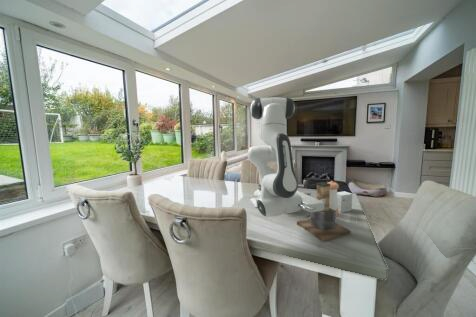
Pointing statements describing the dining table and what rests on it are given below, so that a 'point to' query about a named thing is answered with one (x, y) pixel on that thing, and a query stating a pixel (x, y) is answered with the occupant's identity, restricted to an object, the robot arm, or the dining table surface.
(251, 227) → the dining table surface
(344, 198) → the small box
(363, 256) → the dining table surface
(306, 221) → the sleeve stand
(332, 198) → the pepper shaker
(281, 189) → the robot arm
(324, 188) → the oak post
